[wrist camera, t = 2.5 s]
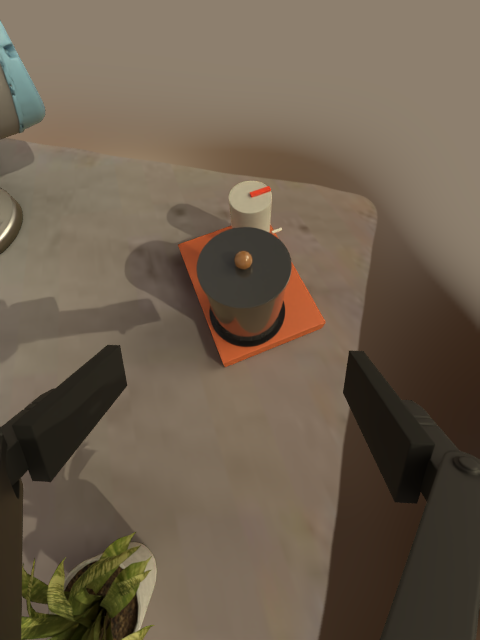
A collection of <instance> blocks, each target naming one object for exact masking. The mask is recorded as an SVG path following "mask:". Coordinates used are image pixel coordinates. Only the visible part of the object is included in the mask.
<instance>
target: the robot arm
mask: <svg viewBox="0 0 480 640" xmlns="http://www.w3.org/2000/svg"><path fill="white" fill-rule="evenodd" d="M44 116H45V107H44V104H43V102H42V100H41V98H40V96H39V94H38V92H37V90H36V88H35V86H34V84H33V82H32V80H31V78H30V76H29V74H28V72H27V71H26V68H25V67H24V65H23V63H22V61H21V59H20V57H19V56H18V54H17V52H16V50H15V48H14V46H13V44H12V42H11V40H10V38H9V36H8V34H7V32H6V30H5V28H4V27H3V25H2V23H1V21H0V139H3V138H6V137H8V136H11V135H14V134H17V133H21V132H23V131H24V129H26V128H29V127H31V126H33V125H35V124H37V123H39V122H41V121H42V120H43V118H44ZM22 220H23V213H22V209H21V207H20V205H19V204H18V202H17V201H16V200H15V199H14V198H13V197H12V196H10V195H9V194H8V193H7V192H6V191H5V190H4V189H2V188H0V254H1V253H2V252H3V251H4V250H5V249H6V248H7V247H8V246H9V245H10V244H11V243H12V242H13V240H14V239H15V238H16V236H17V234H18V233H19V230H20V228H21V225H22ZM126 386H127V382H126V376H125V370H124V365H123V359H122V354H121V348H120V345H107V346H106V347H105V348H103V349H102V350H101V351H100V352H99V353H97V354H96V355H95V356H94V357H93V358H91V359H90V360H89V361H88V362H87V363H85V364H84V365H83V366H82V367H81V368H79V369H78V370H77V371H76V372H75V373H73V374H72V375H71V376H70V377H69V378H67V379H66V380H65V381H64V382H63V383H61V384H60V385H59V386H58V387H57V388H55V389H51V390H50V391H48V392H46V393H44V394H42V395H40V396H39V397H38V398H37V399H35V400H34V401H33V402H32V404H29V405H28V406H27V407H26V408H25V409H24V410H22V411H21V412H19V413H18V414H17V415H16V416H14V417H13V418H12V419H11V420H9V421H8V422H7V423H6V424H5V425H3V426H2V427H0V640H21V618H22V532H23V483H22V481H21V477H22V476H23V475H24V474H25V473H26V471H27V470H29V473H30V475H31V478H32V481H45V482H51V481H52V480H53V478H54V477H55V476H56V475H57V473H58V472H59V471H60V470H61V468H62V467H63V466H64V465H65V463H66V462H67V461H68V460H69V458H70V457H71V456H72V455H73V453H74V452H75V451H76V449H77V448H78V447H79V446H80V444H81V443H82V442H83V441H84V439H85V438H86V437H87V436H88V434H89V433H90V432H91V431H92V429H93V428H94V427H95V426H96V424H97V423H98V422H99V420H100V419H101V418H102V417H103V415H104V414H105V413H106V412H107V410H108V409H109V408H110V407H111V405H112V404H113V403H114V402H115V400H116V399H117V398H118V397H119V395H120V394H121V393H122V391H123V390H124V389H125V388H126ZM343 394H344V396H345V398H346V400H347V402H348V404H349V406H350V408H351V411H352V412H353V415H354V417H355V419H356V421H357V423H358V425H359V427H360V429H361V432H362V434H363V436H364V438H365V440H366V442H367V444H368V446H369V448H370V451H371V453H372V455H373V457H374V459H375V461H376V463H377V465H378V467H379V470H380V472H381V474H382V476H383V478H384V480H385V482H386V484H387V486H388V489H389V491H390V493H391V495H392V497H393V499H394V501H395V502H400V503H417V502H418V499H419V495H420V492H421V493H422V494H423V496H424V497H425V499H426V501H427V504H426V506H425V509H424V512H423V516H422V518H421V521H420V524H419V527H418V530H417V533H416V536H415V539H414V542H413V544H412V547H411V550H410V553H409V556H408V559H407V562H406V566H405V568H404V571H403V574H402V577H401V580H400V583H399V586H398V588H397V591H396V594H395V597H394V600H393V603H392V606H391V609H390V612H389V615H388V618H387V621H386V623H385V627H384V629H383V632H382V635H381V638H380V640H476V633H477V624H478V615H479V606H480V460H479V459H478V458H475V457H474V456H472V455H470V454H468V453H464V452H462V451H459V450H458V448H457V447H456V446H455V445H454V444H453V443H452V442H451V440H450V439H449V438H448V437H447V436H446V435H445V433H444V432H443V431H442V430H441V429H440V427H439V426H437V424H436V423H435V422H434V420H433V419H431V418H430V416H429V415H428V413H427V412H426V411H425V410H424V409H423V408H422V407H421V406H419V405H418V404H416V403H415V402H413V401H412V400H401V399H400V398H399V396H398V395H397V394H396V393H395V391H394V390H393V389H392V387H391V386H390V385H389V384H388V382H387V381H386V380H385V378H384V377H383V376H382V374H381V373H380V372H379V371H378V369H377V368H376V367H375V365H374V364H373V363H372V362H371V360H370V359H369V358H368V356H367V355H366V354H365V353H364V351H349V356H348V363H347V369H346V376H345V383H344V390H343Z"/></svg>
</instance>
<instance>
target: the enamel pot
mask: <svg viewBox="0 0 480 640" xmlns="http://www.w3.org/2000/svg"><path fill="white" fill-rule="evenodd" d="M291 270H292V263H291V258H290V254H289V252H288V250H287V248H286V247H285V245H284V244H283V243H282V242H281V241H280V240H279V239H278V238H277V237H276V236H274V235H273V234H271V233H269V232H267V231H265V230H262V229H258V228H253V227H238V228H232V229H229V230H226V231H224V232H221V233H220V234H218V235H216V236H215V237H213V238H212V239H211V240H210V241H209V242H208V243H207V244H206V245H205V246H204V248H203V249H202V251H201V253H200V255H199V258H198V261H197V277H198V280H199V283H200V285H201V288H202V289H203V291H204V292H205V294H206V296H207V298H208V301H209V304H210V307H211V309H212V312H213V315H214V318H215V320H216V323H217V325H218V326H219V328H220V329H221V330H222V331H223V332H224V333H225V334H226V335H227V336H229V337H231V338H233V339H236V340H240V341H254V340H258V339H261V338H263V337H265V336H266V335H268V334H269V333H270V332H271V331H272V330H273V329H274V328H275V326H276V325H277V323H278V321H279V317H280V313H281V308H282V303H283V298H284V293H285V289H286V287H287V285H288V283H289V280H290V276H291Z"/></svg>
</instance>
